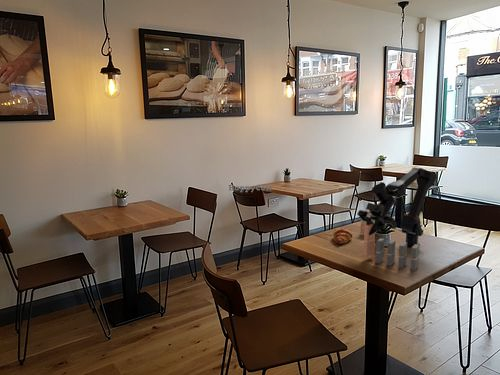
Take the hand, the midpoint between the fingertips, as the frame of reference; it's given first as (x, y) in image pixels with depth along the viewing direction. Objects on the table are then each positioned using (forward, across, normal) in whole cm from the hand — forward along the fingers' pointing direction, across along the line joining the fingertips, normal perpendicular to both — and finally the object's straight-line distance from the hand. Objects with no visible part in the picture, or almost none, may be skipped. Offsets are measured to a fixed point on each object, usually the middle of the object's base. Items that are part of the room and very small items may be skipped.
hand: (367, 234), depth 174 cm
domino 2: (+6, +5, +11) cm, 13 cm away
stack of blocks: (-18, -28, +36) cm, 49 cm away
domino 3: (+5, +9, +12) cm, 16 cm away
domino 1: (+6, 0, +8) cm, 10 cm away
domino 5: (+3, +19, +14) cm, 24 cm away
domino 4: (+4, +14, +13) cm, 20 cm away
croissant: (0, -27, +18) cm, 33 cm away
